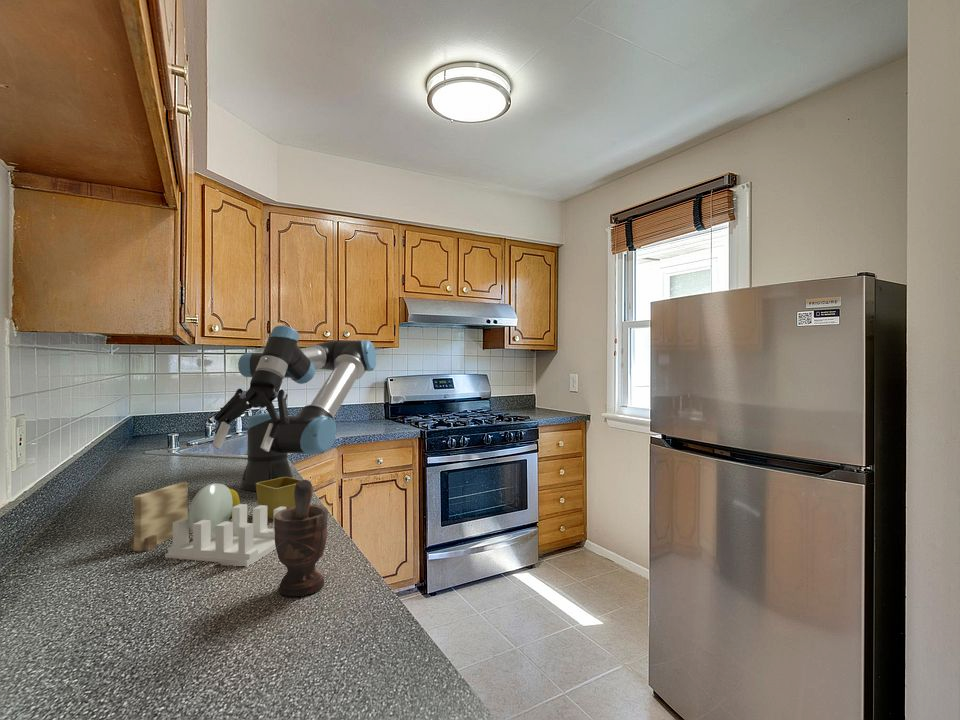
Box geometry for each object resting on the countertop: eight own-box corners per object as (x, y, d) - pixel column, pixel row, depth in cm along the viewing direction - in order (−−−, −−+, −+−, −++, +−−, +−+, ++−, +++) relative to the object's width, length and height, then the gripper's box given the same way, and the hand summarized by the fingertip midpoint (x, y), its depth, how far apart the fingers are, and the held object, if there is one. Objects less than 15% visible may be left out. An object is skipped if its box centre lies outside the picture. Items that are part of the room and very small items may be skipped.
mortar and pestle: (344, 595, 79) (345, 475, 79) (293, 613, 73) (293, 484, 73) (314, 572, 87) (315, 464, 87) (266, 588, 81) (266, 471, 82)
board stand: (174, 533, 107) (174, 519, 107) (190, 534, 107) (190, 521, 107) (130, 552, 97) (130, 537, 97) (148, 553, 96) (148, 538, 96)
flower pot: (306, 516, 120) (306, 480, 120) (275, 526, 113) (275, 488, 113) (285, 510, 125) (285, 476, 125) (254, 519, 117) (254, 483, 117)
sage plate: (226, 527, 105) (227, 477, 105) (232, 527, 105) (232, 478, 105) (187, 546, 94) (188, 491, 94) (193, 546, 94) (194, 491, 94)
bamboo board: (181, 530, 108) (181, 482, 108) (187, 530, 107) (187, 482, 108) (133, 550, 96) (134, 496, 96) (140, 551, 96) (141, 496, 96)
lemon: (228, 524, 114) (229, 491, 114) (208, 522, 115) (209, 489, 115) (244, 517, 119) (244, 485, 119) (225, 515, 120) (225, 484, 120)
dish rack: (220, 533, 108) (220, 501, 108) (292, 538, 104) (292, 506, 104) (165, 560, 93) (165, 523, 93) (246, 567, 90) (247, 529, 90)
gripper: (220, 368, 129) (186, 440, 118) (304, 369, 124) (277, 444, 113) (236, 382, 135) (205, 452, 124) (316, 383, 131) (292, 456, 119)
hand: (240, 448), depth 118 cm, fingers open, 13 cm apart
